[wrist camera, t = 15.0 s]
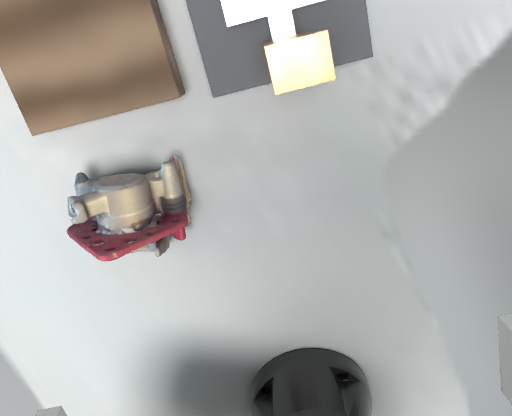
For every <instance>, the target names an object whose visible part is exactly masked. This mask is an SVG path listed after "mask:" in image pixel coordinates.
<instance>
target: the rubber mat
mask: <svg viewBox="0 0 512 416" xmlns="http://www.w3.org/2000/svg"><path fill="white" fill-rule="evenodd" d="M186 3H187V6H188V10H189V13H190V17H191V21H192V24H193V28H194V31H195V35H196V38H197V42H198V45H199V49H200V52H201V56H202V60H203V63H204V67H205V70H206V74H207V77H208V81H209V84H210V88H211V91H212V95H213V98H214V97H218V96H222V95H226V94H230V93H234V92H237V91H241V90H245V89H249V88H253V87H257V86H261V85H265V84H268V83H271V81H270V78H269V74H268V70H267V66H266V61H265V57H264V52H263V48H262V43H265V42H269V41H272V36H271V32H270V27H269V23H268V18H267V17H264V18H260V19H257V20H253V21H249V22H246V23H242V24H238V25H235V26H231V27H227V23H226V19H225V15H224V11H223V7H222V3H221V0H186ZM291 12H292V17H293V22H294V27H295V32H296V34H299V33H303V32H309V31H323V30H328V35H329V41H330V47H331V53H332V59H333V65H334V66H338V65H342V64H346V63H350V62H353V61H357V60H361V59H365V58H369V57H373V53H372V46H371V38H370V31H369V23H368V15H367V8H366V0H326V1H322V2H318V3H315V4H311V5H308V6H304V7H300V8H297V9H293V10H291Z"/></svg>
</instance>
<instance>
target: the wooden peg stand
mask: <svg viewBox="0 0 512 416" xmlns="http://www.w3.org/2000/svg"><path fill="white" fill-rule="evenodd" d="M0 67H1V70H2V72H3V74H4V76H5V78H6V80H7V83H8V85H9V87H10V89H11V91H12V93H13V95H14V98H15V100H16V102H17V104H18V106H19V108H20V110H21V113H22V115H23V117H24V119H25V121H26V123H27V126H28V128H29V130H30V132H31V134H32V136H35V135H39V134H42V133H46V132H50V131H54V130H58V129H62V128H65V127H69V126H73V125H77V124H81V123H85V122H88V121H92V120H96V119H100V118H104V117H108V116H111V115H115V114H119V113H123V112H127V111H131V110H134V109H138V108H142V107H146V106H150V105H154V104H157V103H161V102H165V101H169V100H173V99H177V98H180V97H181V96H182V95H184V94H185V91H184V88H183V84H182V81H181V78H180V75H179V71H178V68H177V65H176V62H175V58H174V55H173V52H172V49H171V45H170V42H169V39H168V36H167V32H166V29H165V26H164V23H163V19H162V16H161V13H160V9H159V6H158V3H157V0H0Z"/></svg>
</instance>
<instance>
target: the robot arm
mask: <svg viewBox="0 0 512 416" xmlns="http://www.w3.org/2000/svg"><path fill="white" fill-rule="evenodd" d="M498 330H499V350H500V351H499V353H500V375H501V390H502V392H503V393H504V395H505V396H506V397H507V399H508V400H509V401H510V403H511V404H512V313H511V314H507V315H501V316H498ZM371 410H372V399H371V393H370V390H369V387H368V384H367V380H366V378H365V375H364V373H363V372H362V370H361V369H360V368H359V367H358V365H357V364H355V363H354V362H353V361H352V360H350V359H349V358H347V357H346V356H344V355H342V354H339V353H337V352H334V351H330V350H325V349H300V350H295V351H291V352H288V353H285V354H283V355H280V356H278V357H276V358H275V359H273V360H272V361H270V362H269V363H267V364H266V365H265V366H264V367H263V368H262V369H261V370H260V372H259V373H258V374H257V376H256V378H255V379H254V382H253V385H252V389H251V412H252V416H371ZM35 416H67V415H66V413H65V411H64V410H63V408H62V406H58V407H53V408H48V409H44V410H39V411H38V412H37V413H36V415H35Z"/></svg>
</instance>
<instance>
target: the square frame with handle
mask: <svg viewBox="0 0 512 416" xmlns="http://www.w3.org/2000/svg"><path fill="white" fill-rule="evenodd" d="M322 1H326V0H221V3H222V7H223V11H224V15H225V19H226V23H227V27H231V26H235V25H238V24H242V23H246V22H249V21H253V20H257V19H260V18H264V17H267V18H268V23H269V27H270V32H271V36H272V41H269V42H265V43H262V48H263V52H264V57H265V61H266V66H267V70H268V74H269V78H270V81H271V84H272V87H273V90H274V93H275V95H278V94H281V93H285V92H289V91H293V90H297V89H301V88H305V87H309V86H313V85H317V84H321V83H324V82H328V81H332V80H336V77H335V71H334V65H333V59H332V53H331V47H330V41H329V35H328V30H323V31H309V32H303V33H299V34H296V32H295V27H294V22H293V17H292V12H291V10H293V9H297V8H300V7H304V6H308V5H311V4H315V3H318V2H322Z"/></svg>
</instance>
